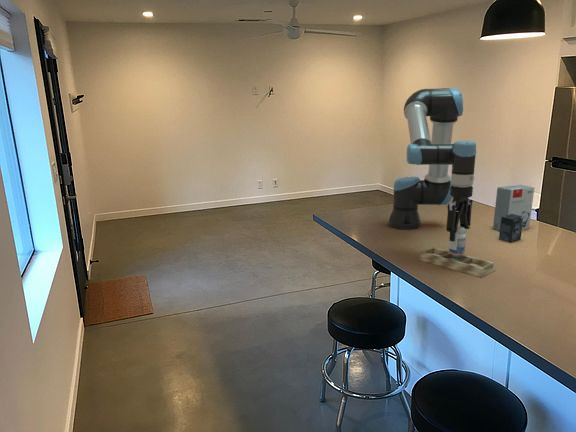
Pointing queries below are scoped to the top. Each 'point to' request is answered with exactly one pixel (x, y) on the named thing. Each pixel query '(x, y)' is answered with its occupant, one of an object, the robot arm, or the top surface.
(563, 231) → the top surface
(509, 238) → the box
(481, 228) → the top surface
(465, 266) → the three-compartment tray
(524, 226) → the hard drive box
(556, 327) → the top surface
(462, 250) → the pill bottle
